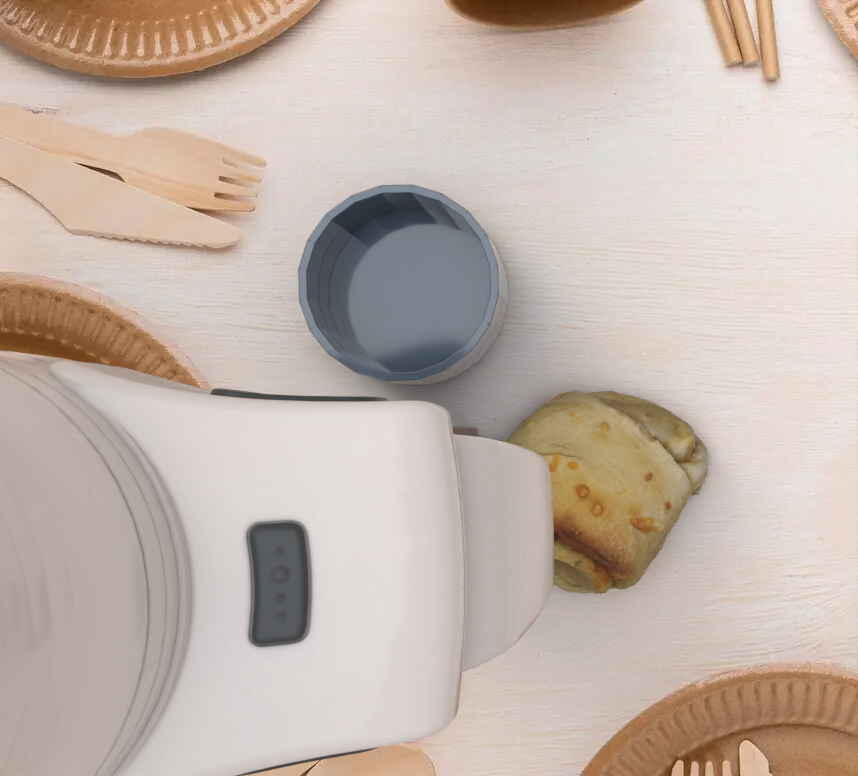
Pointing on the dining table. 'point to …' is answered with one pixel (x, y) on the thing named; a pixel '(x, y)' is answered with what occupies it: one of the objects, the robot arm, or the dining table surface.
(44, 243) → the dining table surface
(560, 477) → the pastry
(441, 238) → the bowl
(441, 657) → the robot arm
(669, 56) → the dining table surface
